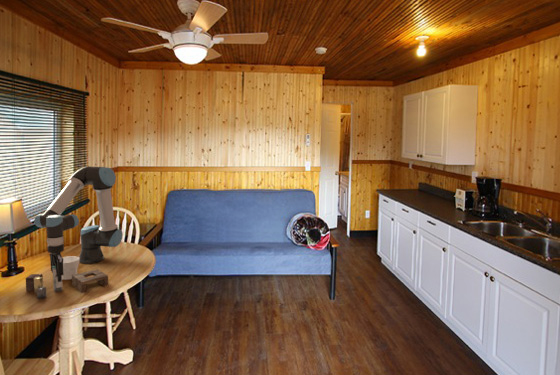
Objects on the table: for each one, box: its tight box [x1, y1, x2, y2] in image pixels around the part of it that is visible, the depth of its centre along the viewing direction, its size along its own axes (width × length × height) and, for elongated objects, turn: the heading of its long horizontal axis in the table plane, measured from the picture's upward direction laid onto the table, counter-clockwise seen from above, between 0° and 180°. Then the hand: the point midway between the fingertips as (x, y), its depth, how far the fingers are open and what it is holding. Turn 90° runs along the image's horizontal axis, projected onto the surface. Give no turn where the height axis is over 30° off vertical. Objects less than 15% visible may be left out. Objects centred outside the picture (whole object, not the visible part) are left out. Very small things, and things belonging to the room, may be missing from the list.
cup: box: [62, 255, 80, 281], centre depth 225 cm, size 12×12×11 cm
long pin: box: [52, 265, 63, 293], centre depth 206 cm, size 4×4×14 cm
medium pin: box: [34, 277, 44, 295], centre depth 203 cm, size 4×4×8 cm
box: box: [25, 273, 44, 292], centre depth 208 cm, size 6×6×7 cm
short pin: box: [36, 286, 47, 300], centre depth 198 cm, size 4×4×5 cm
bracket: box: [71, 268, 109, 293], centre depth 215 cm, size 14×14×6 cm
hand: (57, 285), depth 207 cm, fingers closed on long pin, 4 cm apart
